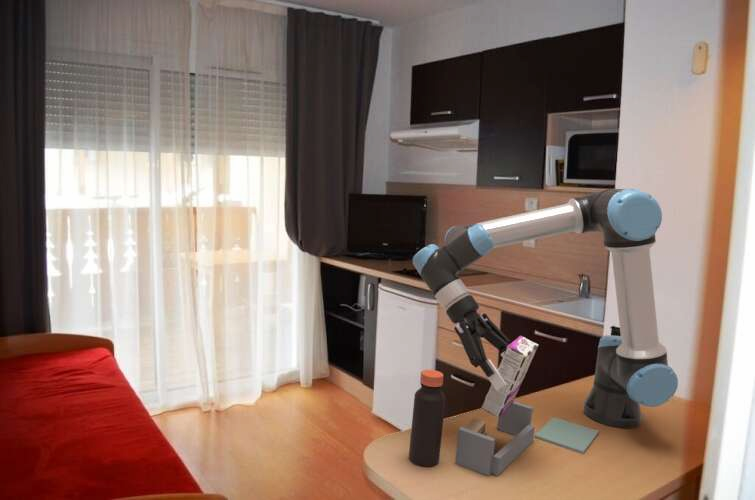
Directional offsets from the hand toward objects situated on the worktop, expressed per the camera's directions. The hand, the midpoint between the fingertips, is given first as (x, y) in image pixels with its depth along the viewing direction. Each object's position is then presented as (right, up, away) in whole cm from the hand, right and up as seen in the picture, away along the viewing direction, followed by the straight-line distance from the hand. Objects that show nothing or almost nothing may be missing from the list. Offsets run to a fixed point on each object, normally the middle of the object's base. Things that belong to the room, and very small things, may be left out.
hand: (512, 380), depth 129 cm
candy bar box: (-3, -6, +2) cm, 8 cm away
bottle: (-21, -17, -4) cm, 27 cm away
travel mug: (+45, -15, +53) cm, 71 cm away
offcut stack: (-8, -17, +5) cm, 19 cm away
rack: (-3, -17, +4) cm, 18 cm away
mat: (+18, -17, +15) cm, 29 cm away
